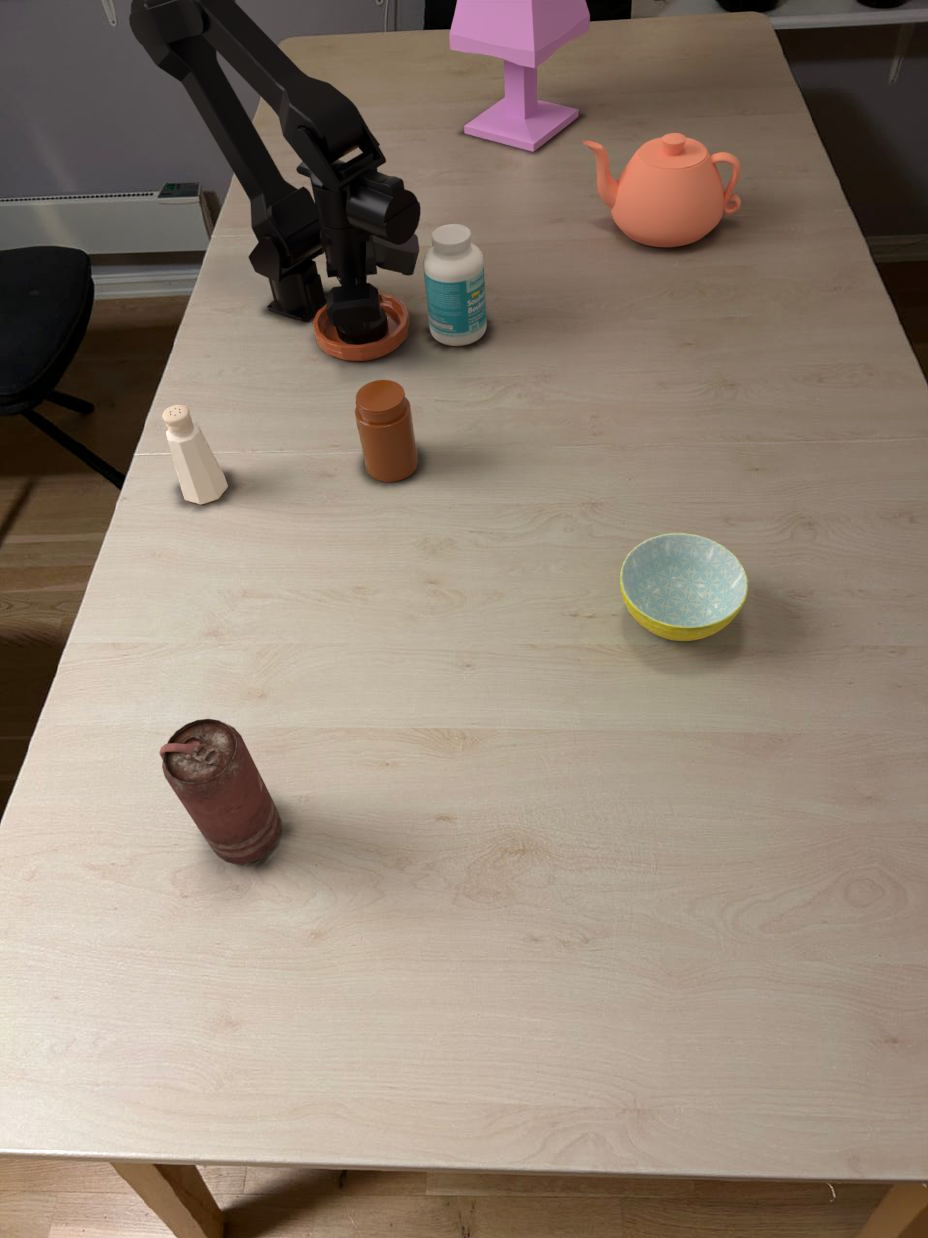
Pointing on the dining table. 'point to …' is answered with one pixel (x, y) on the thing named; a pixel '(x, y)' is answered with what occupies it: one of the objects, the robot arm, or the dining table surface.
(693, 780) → the dining table surface
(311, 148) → the robot arm
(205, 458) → the pepper shaker
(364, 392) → the jam jar
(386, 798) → the dining table surface
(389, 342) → the dish
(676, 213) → the teapot
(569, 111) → the pink table lamp
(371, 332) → the lid
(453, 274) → the pill bottle
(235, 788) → the can
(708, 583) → the bowl
